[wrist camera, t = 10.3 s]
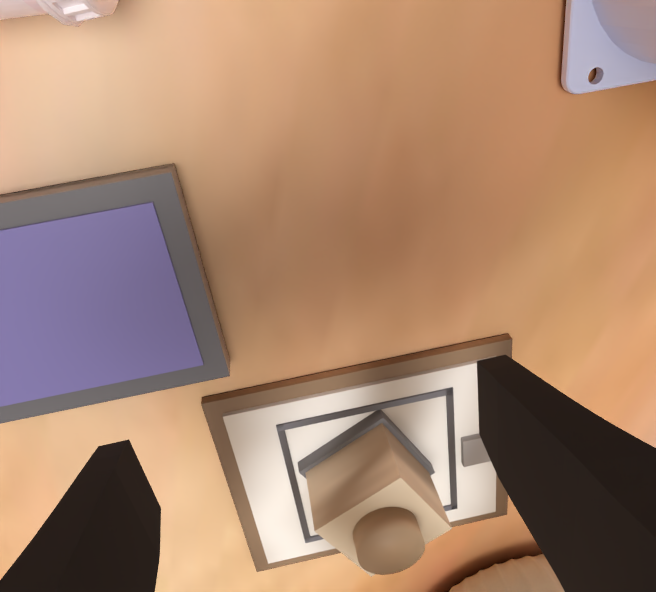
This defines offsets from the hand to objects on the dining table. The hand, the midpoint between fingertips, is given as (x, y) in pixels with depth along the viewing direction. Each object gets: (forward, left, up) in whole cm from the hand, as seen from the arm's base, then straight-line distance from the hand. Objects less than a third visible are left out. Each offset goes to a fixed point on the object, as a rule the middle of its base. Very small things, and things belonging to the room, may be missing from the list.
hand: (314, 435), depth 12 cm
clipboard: (-2, +12, -10) cm, 15 cm away
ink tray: (+8, +1, -10) cm, 13 cm away
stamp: (-2, +11, -9) cm, 14 cm away
